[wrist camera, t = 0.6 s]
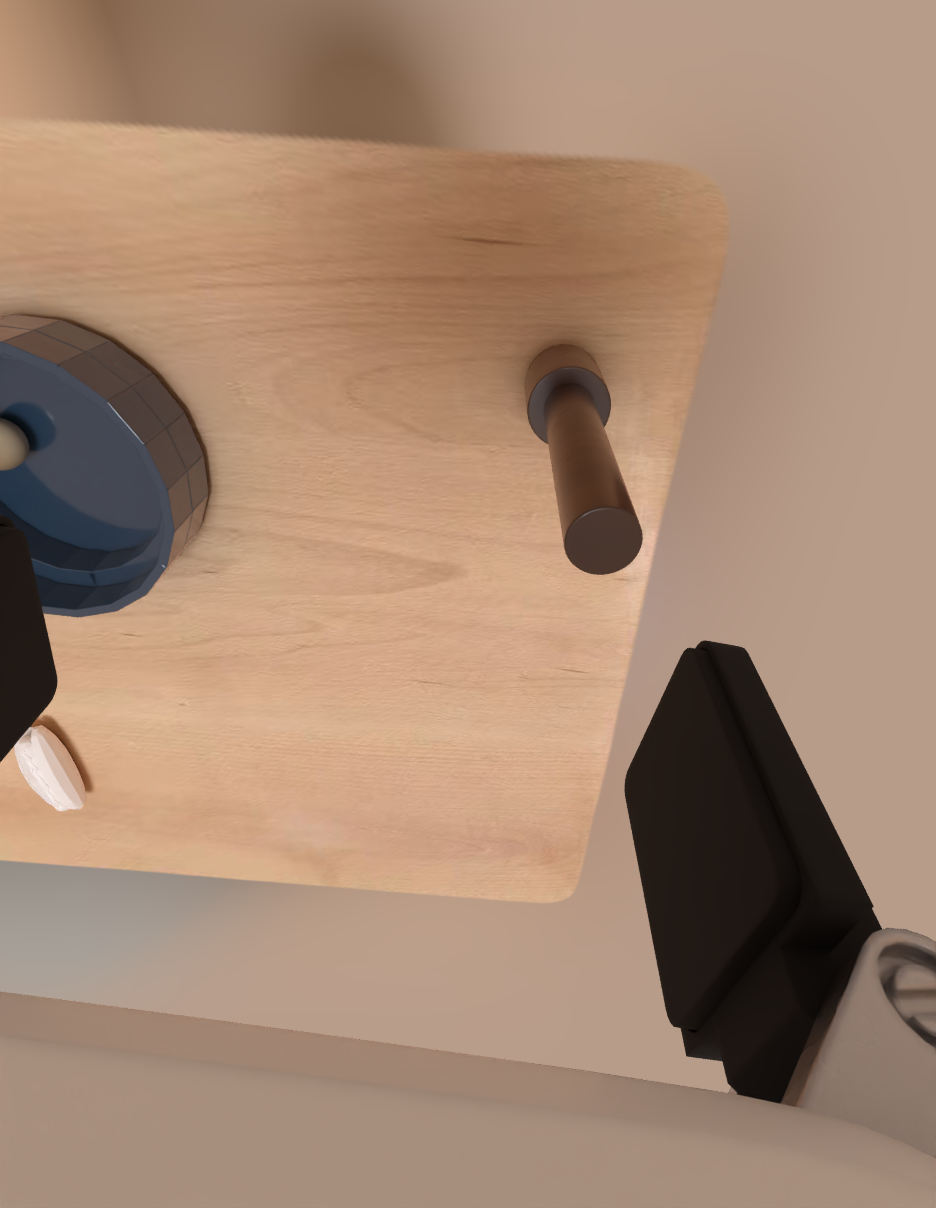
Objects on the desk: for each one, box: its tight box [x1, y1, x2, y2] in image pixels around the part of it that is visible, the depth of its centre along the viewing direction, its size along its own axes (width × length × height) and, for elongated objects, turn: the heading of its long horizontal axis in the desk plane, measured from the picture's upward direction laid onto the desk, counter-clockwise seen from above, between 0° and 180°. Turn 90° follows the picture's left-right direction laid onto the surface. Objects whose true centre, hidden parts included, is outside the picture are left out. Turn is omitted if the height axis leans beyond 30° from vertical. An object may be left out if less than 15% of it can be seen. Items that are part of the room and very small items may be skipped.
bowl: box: [0, 315, 208, 617], centre depth 33 cm, size 14×14×5 cm
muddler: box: [525, 345, 643, 575], centre depth 25 cm, size 4×4×16 cm
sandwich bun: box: [15, 725, 86, 811], centre depth 47 cm, size 3×8×3 cm, turn 4°
